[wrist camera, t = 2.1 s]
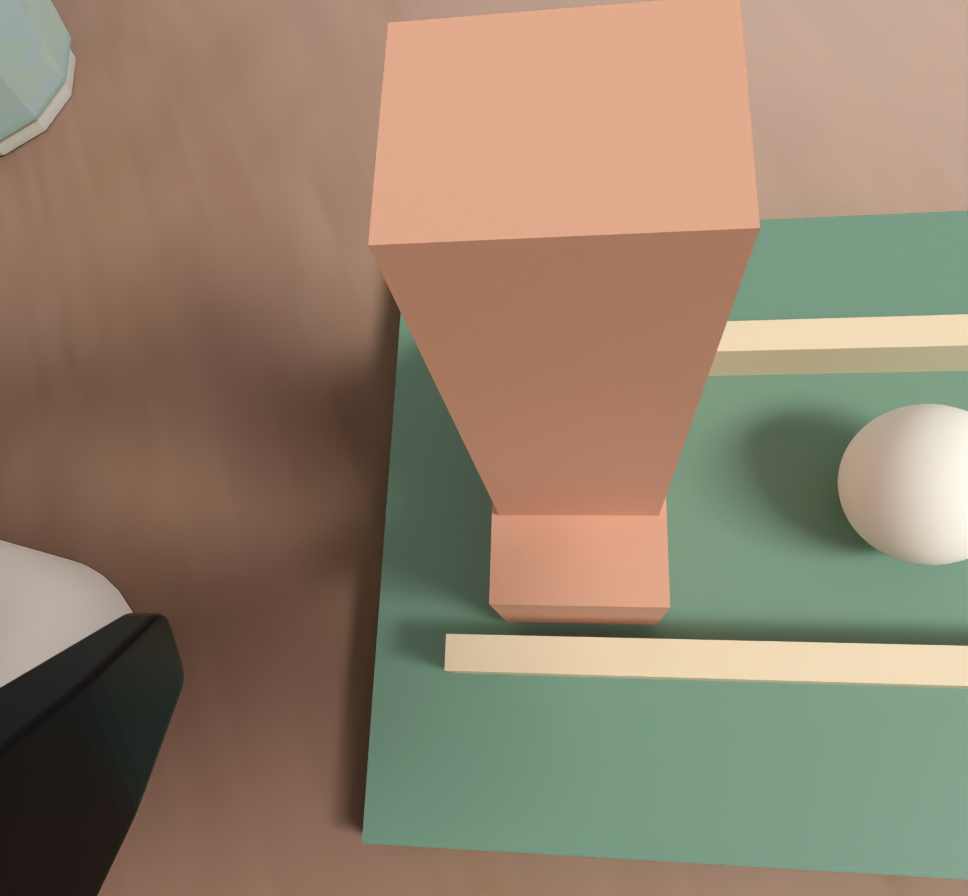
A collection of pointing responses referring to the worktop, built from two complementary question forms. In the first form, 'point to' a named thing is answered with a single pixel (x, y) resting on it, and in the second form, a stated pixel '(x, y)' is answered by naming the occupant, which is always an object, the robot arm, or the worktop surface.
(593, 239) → the player
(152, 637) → the robot arm
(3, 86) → the disposable coffee cup
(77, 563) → the cylindrical container
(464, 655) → the board
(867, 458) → the ball
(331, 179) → the worktop surface
